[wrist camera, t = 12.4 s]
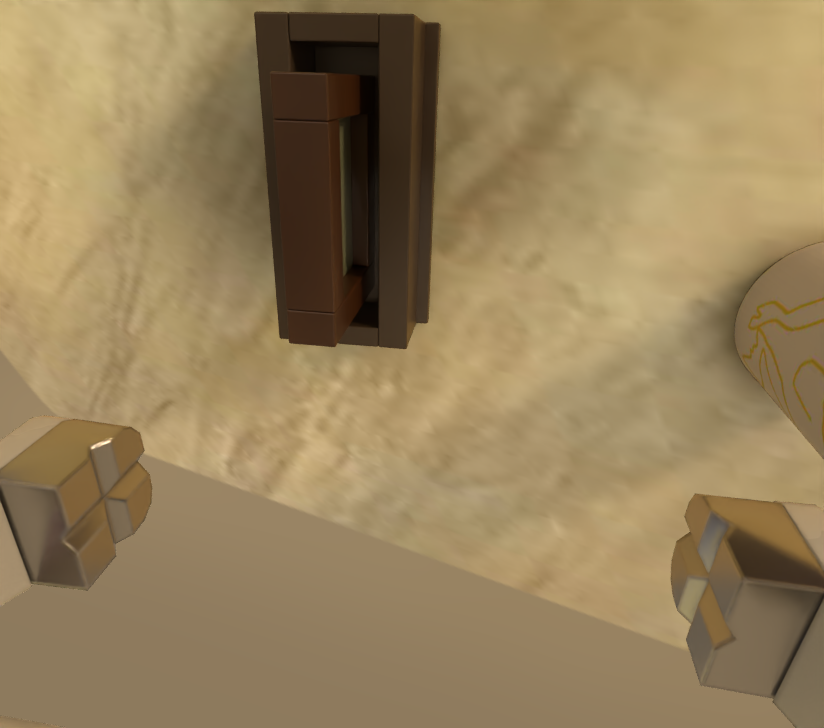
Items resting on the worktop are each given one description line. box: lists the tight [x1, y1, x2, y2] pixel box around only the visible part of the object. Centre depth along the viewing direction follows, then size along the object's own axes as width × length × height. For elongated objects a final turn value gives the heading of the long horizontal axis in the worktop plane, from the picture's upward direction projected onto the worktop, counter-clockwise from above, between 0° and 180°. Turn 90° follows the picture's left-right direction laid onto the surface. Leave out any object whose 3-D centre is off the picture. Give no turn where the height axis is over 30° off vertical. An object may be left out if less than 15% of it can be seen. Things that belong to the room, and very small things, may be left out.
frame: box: [270, 71, 375, 347], centre depth 25 cm, size 2×10×8 cm, turn 178°
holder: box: [254, 12, 441, 349], centre depth 27 cm, size 8×14×4 cm, turn 179°
